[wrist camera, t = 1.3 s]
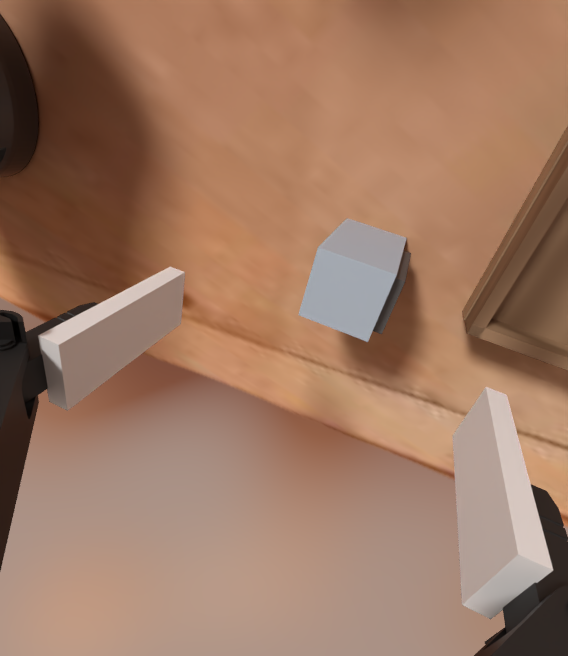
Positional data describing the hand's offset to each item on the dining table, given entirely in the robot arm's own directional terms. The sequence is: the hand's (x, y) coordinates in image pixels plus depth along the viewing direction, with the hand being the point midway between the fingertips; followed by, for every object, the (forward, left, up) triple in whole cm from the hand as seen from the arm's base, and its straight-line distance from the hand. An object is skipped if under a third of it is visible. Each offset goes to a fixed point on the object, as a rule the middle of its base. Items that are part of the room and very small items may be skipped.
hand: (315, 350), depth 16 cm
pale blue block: (0, 0, -15) cm, 15 cm away
